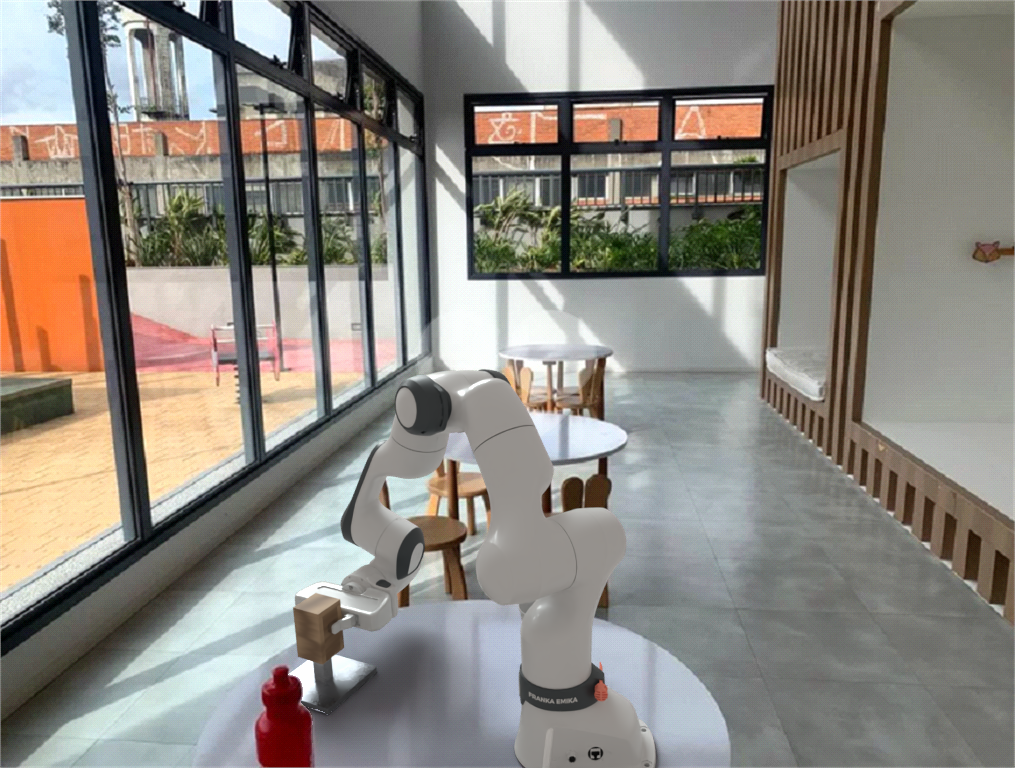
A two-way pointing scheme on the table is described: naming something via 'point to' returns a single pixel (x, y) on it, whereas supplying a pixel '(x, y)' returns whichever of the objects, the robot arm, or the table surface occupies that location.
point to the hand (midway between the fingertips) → (315, 625)
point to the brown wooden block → (317, 628)
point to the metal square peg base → (331, 681)
